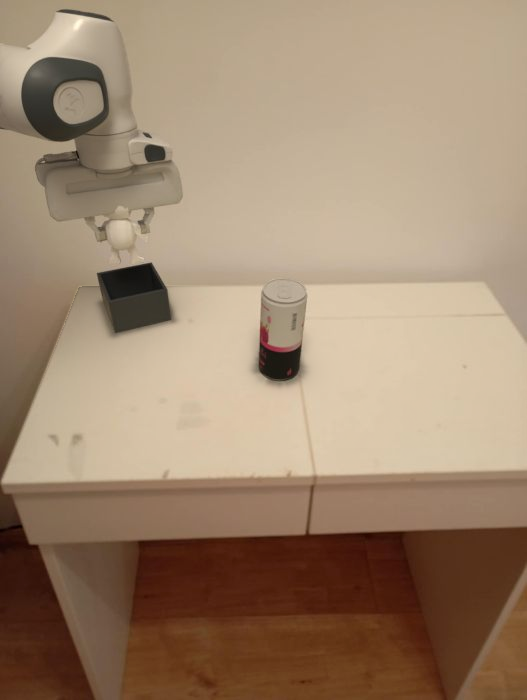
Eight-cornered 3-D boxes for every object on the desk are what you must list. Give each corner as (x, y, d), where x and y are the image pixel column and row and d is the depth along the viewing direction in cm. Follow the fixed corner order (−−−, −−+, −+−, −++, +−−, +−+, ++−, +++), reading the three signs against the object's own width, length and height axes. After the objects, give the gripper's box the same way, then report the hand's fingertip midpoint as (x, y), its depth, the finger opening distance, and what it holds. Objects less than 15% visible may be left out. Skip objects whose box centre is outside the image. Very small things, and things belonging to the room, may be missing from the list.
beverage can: (256, 380, 74) (259, 301, 64) (260, 353, 79) (263, 275, 69) (298, 383, 73) (307, 304, 64) (299, 356, 78) (307, 278, 69)
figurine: (151, 255, 82) (142, 186, 74) (148, 268, 78) (138, 198, 70) (104, 255, 81) (90, 186, 73) (99, 269, 78) (83, 198, 70)
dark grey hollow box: (115, 333, 81) (108, 302, 77) (103, 302, 88) (96, 272, 84) (171, 319, 85) (167, 289, 81) (155, 291, 92) (151, 262, 87)
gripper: (33, 163, 62) (59, 256, 71) (182, 147, 69) (188, 233, 78) (28, 148, 66) (53, 238, 75) (169, 134, 73) (177, 218, 82)
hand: (123, 235), depth 77 cm, fingers closed on figurine, 5 cm apart
